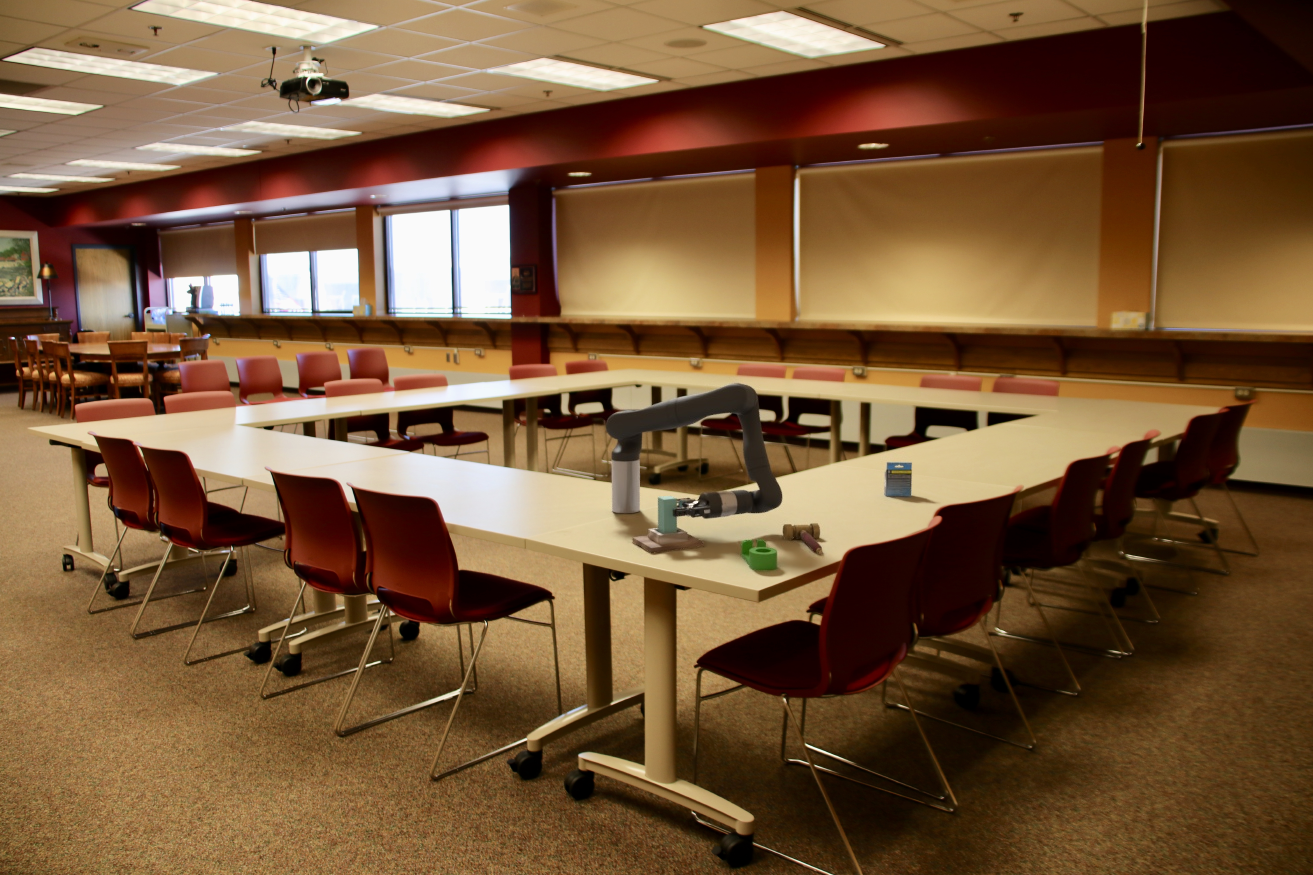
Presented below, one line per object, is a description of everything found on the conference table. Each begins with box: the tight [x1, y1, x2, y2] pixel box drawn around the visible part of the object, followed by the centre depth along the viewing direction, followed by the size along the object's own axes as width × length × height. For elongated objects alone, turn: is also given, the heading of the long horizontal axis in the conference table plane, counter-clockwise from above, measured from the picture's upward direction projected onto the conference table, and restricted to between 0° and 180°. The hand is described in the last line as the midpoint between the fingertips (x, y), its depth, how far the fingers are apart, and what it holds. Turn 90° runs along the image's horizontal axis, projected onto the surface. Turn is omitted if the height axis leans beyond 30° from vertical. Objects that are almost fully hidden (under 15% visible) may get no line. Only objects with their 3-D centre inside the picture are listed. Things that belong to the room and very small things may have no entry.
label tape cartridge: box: [883, 461, 913, 498], centre depth 319 cm, size 9×4×12 cm, turn 84°
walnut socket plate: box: [632, 526, 704, 554], centre depth 255 cm, size 13×16×4 cm
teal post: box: [657, 495, 678, 534], centre depth 255 cm, size 4×4×12 cm
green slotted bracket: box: [740, 538, 778, 572], centre depth 236 cm, size 15×7×5 cm, turn 7°
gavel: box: [782, 522, 823, 555], centre depth 254 cm, size 21×5×10 cm
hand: (666, 509), depth 254 cm, fingers open, 8 cm apart
